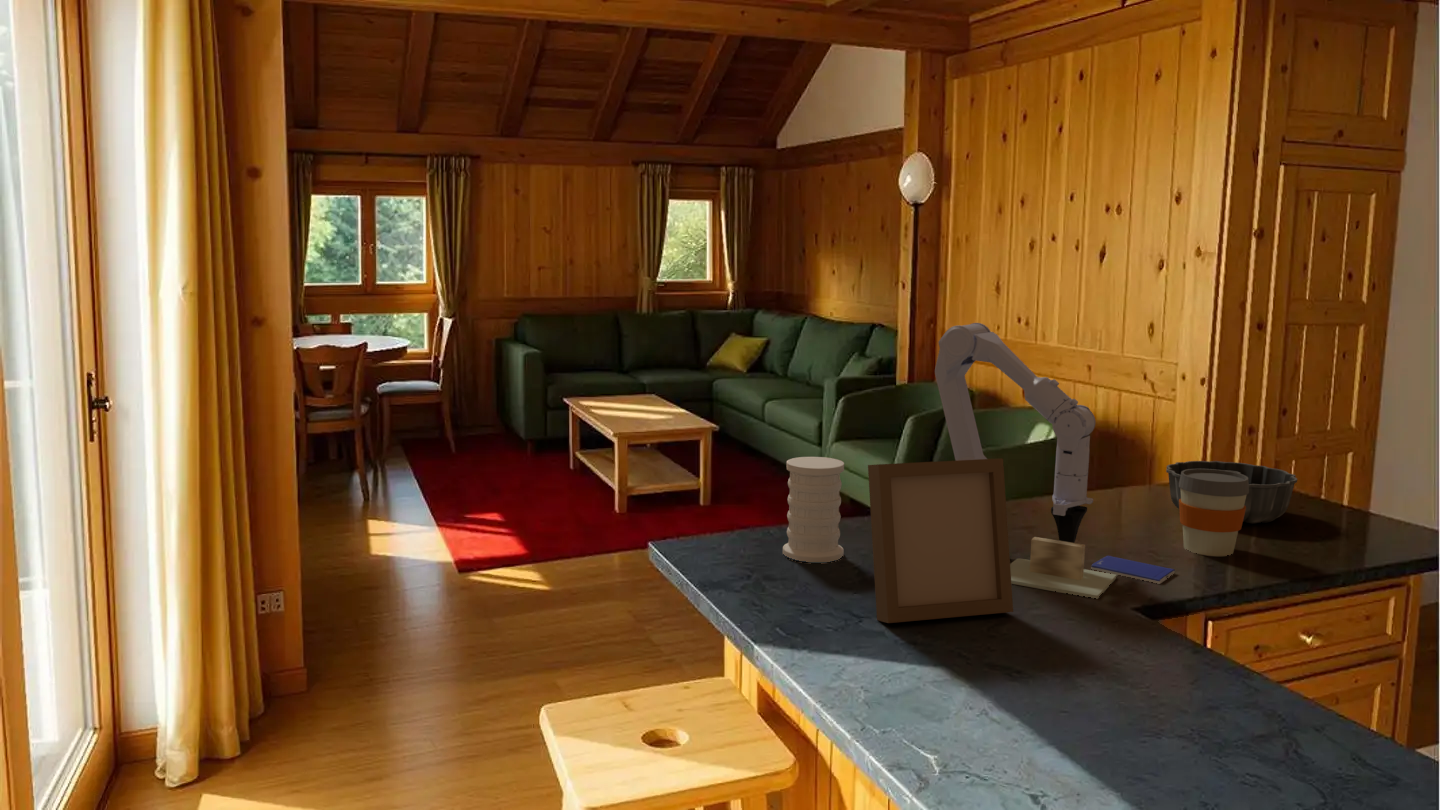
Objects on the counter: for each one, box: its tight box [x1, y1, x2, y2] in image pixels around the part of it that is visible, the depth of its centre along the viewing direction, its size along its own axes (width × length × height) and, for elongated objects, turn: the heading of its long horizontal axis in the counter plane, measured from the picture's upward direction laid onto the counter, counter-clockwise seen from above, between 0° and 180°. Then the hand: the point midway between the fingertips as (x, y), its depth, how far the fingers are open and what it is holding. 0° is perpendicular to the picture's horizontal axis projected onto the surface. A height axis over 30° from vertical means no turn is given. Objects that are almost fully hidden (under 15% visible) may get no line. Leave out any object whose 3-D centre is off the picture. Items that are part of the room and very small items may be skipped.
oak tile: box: [1029, 536, 1086, 580], centre depth 197 cm, size 9×2×6 cm, turn 58°
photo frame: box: [867, 458, 1014, 624], centre depth 179 cm, size 15×22×25 cm
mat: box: [1010, 557, 1118, 600], centre depth 196 cm, size 18×14×1 cm
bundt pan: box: [1165, 460, 1298, 524], centre depth 243 cm, size 26×26×10 cm
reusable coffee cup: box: [1178, 469, 1249, 557], centre depth 215 cm, size 13×13×15 cm
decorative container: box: [782, 456, 845, 562], centre depth 208 cm, size 12×12×18 cm
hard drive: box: [1090, 555, 1176, 585], centre depth 201 cm, size 2×8×12 cm
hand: (1066, 545), depth 201 cm, fingers closed
